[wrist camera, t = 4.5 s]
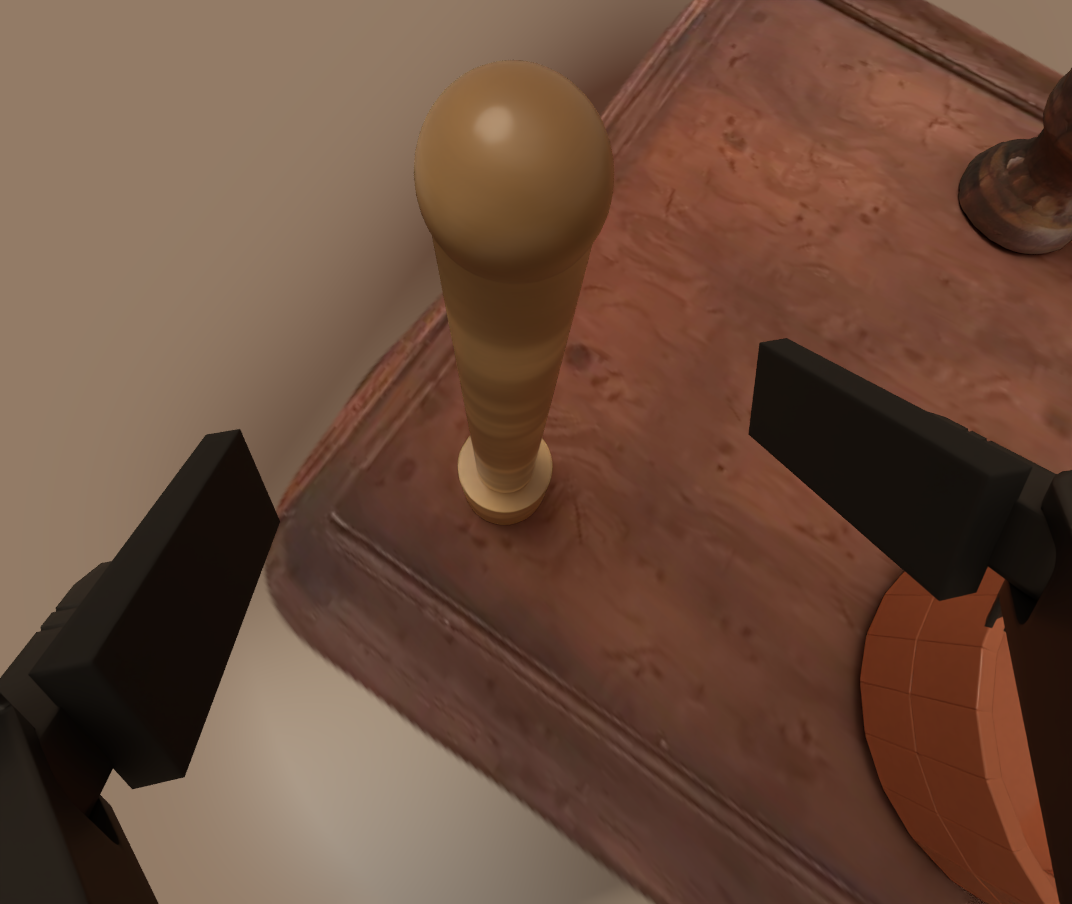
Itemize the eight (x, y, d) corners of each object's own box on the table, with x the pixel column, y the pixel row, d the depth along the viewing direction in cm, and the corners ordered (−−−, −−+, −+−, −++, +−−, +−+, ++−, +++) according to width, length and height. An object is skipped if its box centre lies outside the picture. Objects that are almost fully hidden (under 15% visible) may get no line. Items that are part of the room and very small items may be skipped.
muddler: (500, 542, 26) (497, 328, 5) (447, 480, 26) (252, 66, 6) (561, 488, 26) (771, 119, 6) (508, 429, 27) (532, -90, 7)
